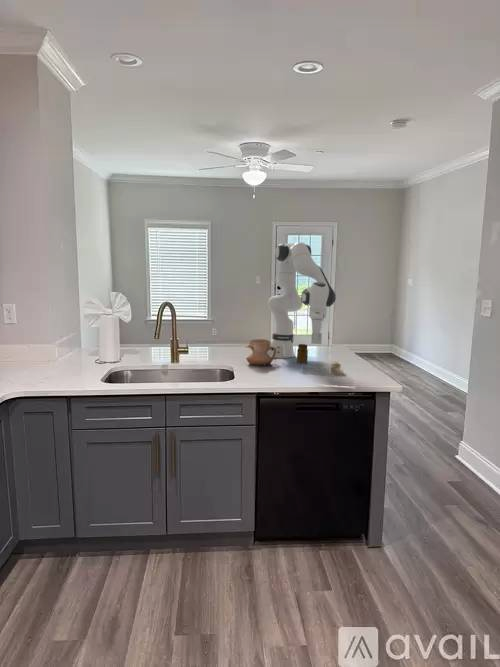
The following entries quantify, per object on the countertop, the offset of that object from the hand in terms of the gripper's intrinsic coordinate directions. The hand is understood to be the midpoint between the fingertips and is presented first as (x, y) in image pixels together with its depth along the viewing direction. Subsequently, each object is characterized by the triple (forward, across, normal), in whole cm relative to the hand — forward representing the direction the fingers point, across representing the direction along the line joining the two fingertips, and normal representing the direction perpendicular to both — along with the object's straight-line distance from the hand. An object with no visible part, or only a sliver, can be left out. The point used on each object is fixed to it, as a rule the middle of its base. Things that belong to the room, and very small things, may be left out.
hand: (316, 339), depth 228 cm
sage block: (+2, 0, 0) cm, 2 cm away
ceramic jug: (+19, -15, -32) cm, 40 cm away
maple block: (+18, -5, +11) cm, 21 cm away
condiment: (+19, -21, -8) cm, 30 cm away
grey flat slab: (+19, -4, +4) cm, 20 cm away
